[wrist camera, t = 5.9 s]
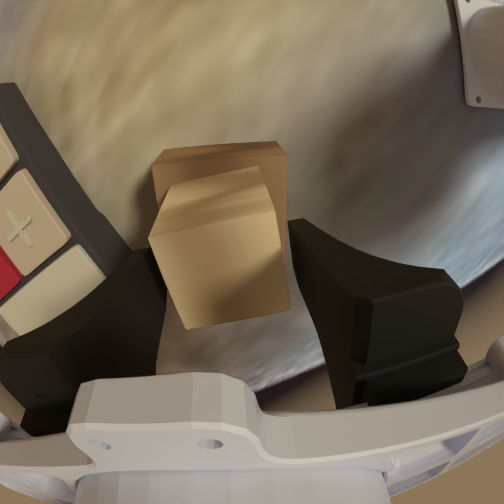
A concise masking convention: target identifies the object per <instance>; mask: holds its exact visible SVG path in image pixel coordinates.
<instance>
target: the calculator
mask: <svg viewBox="0 0 504 504" xmlns="http://www.w3.org/2000/svg"><path fill="white" fill-rule="evenodd" d="M131 254H133V251H132V250H131V249H130V248H129V246H128V245H127V244H126V243H125V241H124V240H123V239H122V238H121V236H120V235H119V234H118V233H117V231H116V230H115V229H114V228H113V226H112V225H111V224H110V222H109V221H108V220H107V219H106V217H105V216H104V215H103V214H101V213H100V212H99V211H98V210H97V209H96V208H95V206H94V205H93V204H92V202H91V201H90V199H89V198H88V196H87V195H86V194H85V192H84V191H83V189H82V188H81V186H80V185H79V183H78V182H77V180H76V179H75V177H74V176H73V174H72V173H71V171H70V170H69V168H68V167H67V165H66V164H65V162H64V161H63V159H62V158H61V156H60V154H59V153H58V151H57V150H56V148H55V147H54V145H53V143H52V142H51V140H50V139H49V137H48V136H47V134H46V133H45V131H44V130H43V128H42V126H41V125H40V123H39V122H38V120H37V118H36V117H35V115H34V114H33V112H32V110H31V109H30V107H29V105H28V104H27V102H26V100H25V99H24V97H23V95H22V94H21V92H20V90H19V89H18V87H17V85H16V84H15V83H13V82H11V83H1V84H0V314H1V316H2V317H3V318H4V319H5V320H6V321H7V322H8V324H9V325H10V326H11V327H12V328H13V329H14V330H15V331H16V332H17V333H18V334H19V335H20V336H21V335H23V334H26V333H28V332H30V331H32V330H34V329H36V328H38V327H40V326H42V325H44V324H45V323H47V322H49V321H51V320H52V319H54V318H56V317H57V316H59V315H60V314H62V313H63V312H65V311H66V310H68V309H69V308H71V307H72V306H74V305H75V304H76V303H77V302H79V301H80V300H81V299H83V298H84V297H85V296H86V295H88V294H89V293H90V292H91V291H92V290H94V289H95V288H96V287H97V286H98V285H99V284H100V283H101V282H102V281H103V280H105V279H106V278H107V277H108V276H109V275H110V274H111V273H112V272H113V271H114V270H115V269H116V268H117V267H118V266H119V265H120V264H122V263H123V262H124V261H125V260H126V259H127V258H128V257H129V256H130V255H131Z"/></svg>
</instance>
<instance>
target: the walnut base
mask: <svg viewBox="0 0 504 504" xmlns="http://www.w3.org/2000/svg"><path fill="white" fill-rule="evenodd" d="M254 166H259V169H260V172H261V174H262V177H263V180H264V182H265V185H266V188H267V190H268V193H269V196H270V198H271V201H272V204H273V206H274V209H275V213H276V219H277V225H278V231H279V237H280V243H281V249H282V255H283V261H284V267H285V269H286V231H287V155H286V153H285V152H284V151H283V150H282V148H281V147H280V146H279V145H278V143H277V142H276V141H271V142H248V143H231V144H217V145H205V146H194V147H183V148H174V149H165V150H163V152H162V153H161V154H160V155H159V157H158V158H157V159H156V161H155V162H154V163H153V164H152V173H153V180H154V186H155V193H156V199H157V205H158V211H160V208H161V206H162V204H163V202H164V199H165V197H166V195H167V193H168V190H169V188H170V186H171V185H175V184H179V183H183V182H187V181H191V180H195V179H199V178H204V177H208V176H212V175H217V174H221V173H226V172H230V171H235V170H240V169H244V168H249V167H254Z"/></svg>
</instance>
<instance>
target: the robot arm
mask: <svg viewBox="0 0 504 504" xmlns="http://www.w3.org/2000/svg"><path fill="white" fill-rule="evenodd" d="M454 4H455V9H456V15H457V21H458V27H459V34H460V41H461V49H462V59H463V70H464V84H465V100H466V103H467V104H468V105H470V106H473V107H488V108H500V109H504V5H501V4H498V3H495V2H493V1H490V0H467V2H466V1H465V0H454ZM476 97H477V98H478V100H477V101H476ZM287 222H288V230H289V238H290V246H291V254H292V262H293V268H294V272H295V276H296V279H297V283H298V286H299V289H300V291H301V294H302V296H303V299H304V301H305V304H306V306H307V308H308V311H309V313H310V316H311V318H312V321H313V323H314V325H315V328H316V331H317V333H318V336H319V340H320V343H321V347H322V351H323V354H324V358H325V362H326V366H327V370H328V374H329V378H330V382H331V387H332V391H333V395H334V399H335V404H336V409H333V410H316V411H261V410H260V408H259V407H258V403H257V400H256V397H255V394H254V392H253V391H252V390H251V389H250V388H249V387H248V386H247V385H246V384H245V382H244V381H242V380H240V379H237V378H234V377H231V376H229V375H226V374H223V373H220V372H199V371H194V372H185V373H175V374H165V375H156V360H157V353H158V348H159V342H160V337H161V332H162V327H163V322H164V317H165V312H166V301H167V287H166V285H165V282H164V279H163V277H162V274H161V272H160V269H159V266H158V264H157V261H156V258H155V256H154V253H153V250H152V248H151V247H150V248H145V249H140V250H137V251H135V252H134V253H133V254H131V255H130V256H129V257H128V258H127V259H126V260H125V261H124V262H123V263H122V264H120V265H119V266H118V267H117V268H116V269H115V270H114V271H113V272H112V273H111V274H110V275H109V276H108V277H107V278H106V279H105V280H103V281H102V282H101V283H100V284H99V285H98V286H97V287H96V288H95V289H94V290H92V291H91V292H90V293H89V294H88V295H86V296H85V297H84V298H83V299H81V300H80V301H79V302H77V303H76V304H75V305H74V306H72V307H71V308H69V309H68V310H66V311H65V312H63V313H62V314H60V315H59V316H57V317H56V318H54V319H52V320H51V321H49V322H47V323H45V324H44V325H42V326H40V327H38V328H36V329H34V330H32V331H30V332H28V333H26V334H23V335H21V336H19V337H17V338H14V339H12V340H9V341H7V342H6V344H5V345H4V347H3V349H2V351H1V353H0V382H1V383H2V384H3V386H4V387H5V388H6V389H7V390H8V391H9V392H10V393H11V395H12V396H13V397H14V398H15V399H16V400H17V401H18V402H19V403H20V404H21V405H22V406H23V407H24V408H25V409H26V410H25V413H24V416H23V419H22V422H21V424H17V423H13V422H12V421H11V420H10V419H9V418H8V417H7V416H6V415H5V414H4V413H2V412H1V411H0V484H2V485H4V486H5V487H7V488H10V489H12V490H15V491H18V492H20V493H23V494H25V495H28V496H31V497H33V498H36V499H39V500H42V501H45V502H48V503H51V504H391V501H390V497H392V496H395V495H397V494H400V493H402V492H404V491H407V490H409V489H411V488H414V487H416V486H418V485H420V484H422V483H424V482H427V481H429V480H431V479H433V478H435V477H436V476H439V475H441V474H443V473H445V472H447V471H449V470H450V469H452V468H454V467H456V466H458V465H460V464H461V463H463V462H465V461H466V460H468V459H470V458H472V457H473V456H475V455H477V454H478V453H480V452H482V451H483V450H485V449H487V448H488V447H490V446H492V445H493V444H495V443H496V442H498V441H499V440H501V439H502V438H504V335H503V336H501V337H499V338H498V339H496V340H495V341H494V342H493V343H492V344H491V346H490V348H489V350H488V352H487V354H486V357H485V358H484V359H482V360H480V361H478V362H476V363H473V364H471V365H469V366H467V365H466V364H465V362H464V360H463V359H462V357H461V356H460V354H459V353H458V351H457V349H459V342H458V341H457V339H456V338H455V336H454V334H455V331H456V328H457V326H458V323H459V319H460V317H461V314H462V309H463V305H464V298H463V293H462V291H461V289H460V288H459V286H458V285H457V284H456V283H455V282H454V281H453V279H452V278H451V277H450V276H449V275H448V274H447V273H446V271H445V270H444V269H436V268H427V267H417V266H412V265H406V264H401V263H397V262H393V261H389V260H385V259H382V258H379V257H375V256H373V255H370V254H367V253H365V252H362V251H360V250H357V249H355V248H353V247H351V246H348V245H347V244H345V243H343V242H341V241H339V240H337V239H335V238H334V237H332V236H330V235H328V234H327V233H325V232H324V231H322V230H321V229H319V228H317V227H316V226H314V225H313V224H311V223H310V222H308V221H307V220H305V219H304V218H301V219H296V220H290V221H287Z"/></svg>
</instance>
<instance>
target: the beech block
mask: <svg viewBox="0 0 504 504" xmlns="http://www.w3.org/2000/svg"><path fill="white" fill-rule="evenodd" d="M148 240H149V243H150V245H151V248H152V250H153V253H154V255H155V258H156V260H157V263H158V265H159V268H160V270H161V273H162V275H163V278H164V280H165V283H166V285H167V287H168V290H169V292H170V295H171V297H172V299H173V302H174V304H175V306H176V308H177V311H178V313H179V315H180V318H181V320H182V322H183V324H184V326H185V329H192V328H198V327H204V326H210V325H216V324H221V323H227V322H232V321H238V320H243V319H248V318H253V317H258V316H263V315H268V314H273V313H278V312H283V311H288V310H291V306H290V299H289V293H288V286H287V280H286V273H285V267H284V261H283V255H282V249H281V243H280V237H279V231H278V225H277V219H276V213H275V209H274V206H273V204H272V201H271V198H270V196H269V193H268V190H267V188H266V185H265V182H264V180H263V177H262V174H261V172H260V169H259V166H254V167H249V168H244V169H240V170H235V171H230V172H226V173H221V174H217V175H212V176H208V177H204V178H199V179H195V180H191V181H187V182H183V183H179V184H175V185H171V186H170V188H169V190H168V193H167V195H166V197H165V199H164V202H163V204H162V206H161V208H160V211H159V213H158V215H157V218H156V220H155V222H154V225H153V227H152V230H151V232H150V234H149V237H148Z"/></svg>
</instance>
